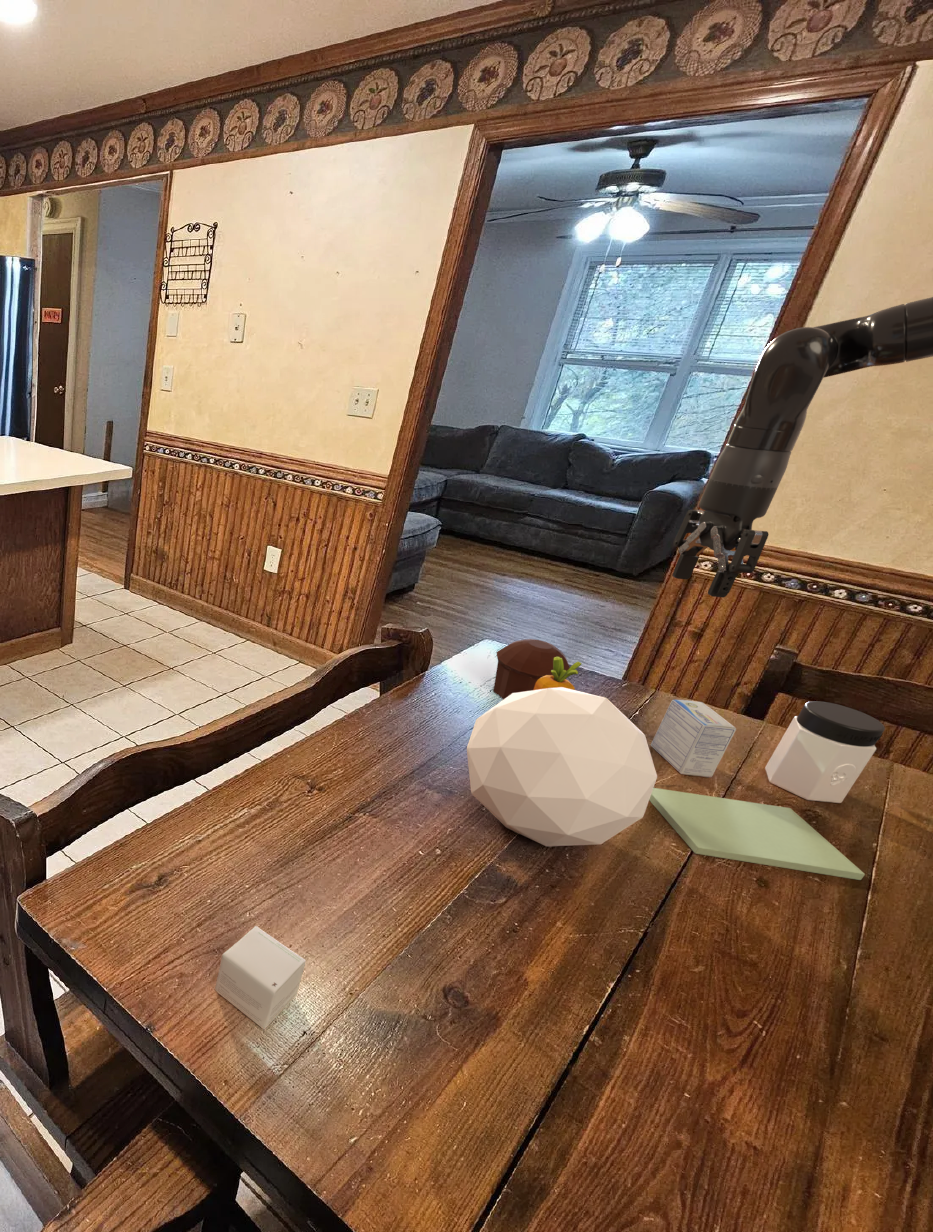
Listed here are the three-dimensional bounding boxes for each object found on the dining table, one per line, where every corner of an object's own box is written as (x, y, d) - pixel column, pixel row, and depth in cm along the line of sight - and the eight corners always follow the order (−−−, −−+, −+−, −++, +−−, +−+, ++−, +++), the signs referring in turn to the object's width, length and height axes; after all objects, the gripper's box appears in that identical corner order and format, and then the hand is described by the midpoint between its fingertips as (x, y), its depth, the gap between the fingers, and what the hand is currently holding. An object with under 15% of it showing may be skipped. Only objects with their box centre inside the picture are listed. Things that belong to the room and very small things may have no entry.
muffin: (501, 674, 133) (518, 625, 128) (567, 699, 125) (588, 647, 121) (473, 692, 126) (491, 640, 121) (542, 719, 118) (564, 665, 114)
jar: (791, 800, 101) (835, 727, 96) (747, 766, 108) (786, 697, 103) (859, 806, 101) (907, 734, 95) (810, 772, 108) (852, 703, 103)
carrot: (550, 741, 112) (585, 656, 105) (551, 756, 108) (587, 668, 102) (514, 731, 114) (547, 647, 108) (513, 745, 110) (547, 659, 104)
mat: (786, 813, 98) (790, 807, 98) (861, 880, 87) (865, 874, 86) (641, 791, 101) (644, 786, 101) (694, 853, 89) (698, 847, 89)
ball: (496, 882, 93) (451, 791, 83) (483, 759, 106) (443, 668, 96) (685, 878, 81) (658, 773, 72) (644, 741, 95) (617, 636, 85)
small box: (298, 996, 68) (308, 959, 65) (264, 1033, 64) (274, 995, 62) (247, 958, 71) (255, 922, 69) (212, 991, 68) (220, 954, 65)
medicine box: (712, 779, 105) (739, 728, 101) (678, 774, 105) (704, 724, 102) (679, 749, 112) (703, 701, 108) (648, 745, 112) (671, 697, 109)
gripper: (812, 492, 96) (757, 605, 102) (738, 473, 109) (694, 575, 115) (750, 487, 97) (700, 600, 103) (684, 469, 109) (644, 570, 116)
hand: (697, 586), depth 109 cm, fingers open, 8 cm apart
